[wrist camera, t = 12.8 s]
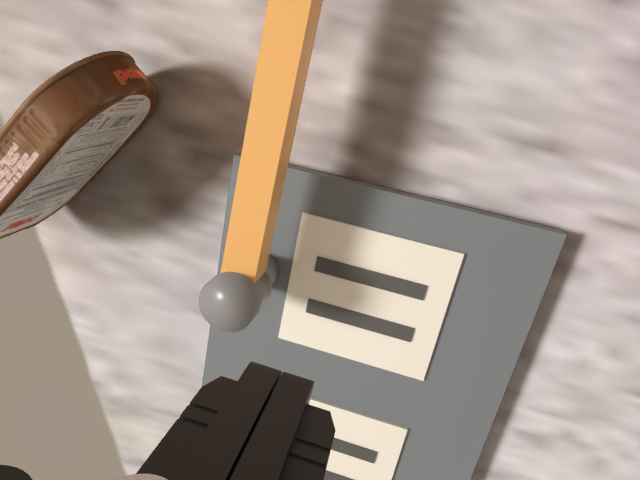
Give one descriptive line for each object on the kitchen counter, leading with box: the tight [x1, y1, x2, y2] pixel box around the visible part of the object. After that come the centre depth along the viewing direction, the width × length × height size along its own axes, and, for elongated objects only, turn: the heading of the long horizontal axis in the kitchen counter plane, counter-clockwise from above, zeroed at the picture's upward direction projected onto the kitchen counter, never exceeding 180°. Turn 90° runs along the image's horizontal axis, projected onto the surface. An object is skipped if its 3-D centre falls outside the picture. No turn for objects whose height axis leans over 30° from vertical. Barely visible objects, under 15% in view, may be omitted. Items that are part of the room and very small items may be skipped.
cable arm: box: [199, 0, 323, 332], centre depth 24 cm, size 19×3×3 cm, turn 167°
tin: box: [0, 51, 158, 239], centre depth 28 cm, size 15×3×8 cm, turn 130°
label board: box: [202, 153, 567, 480], centre depth 31 cm, size 20×26×4 cm
